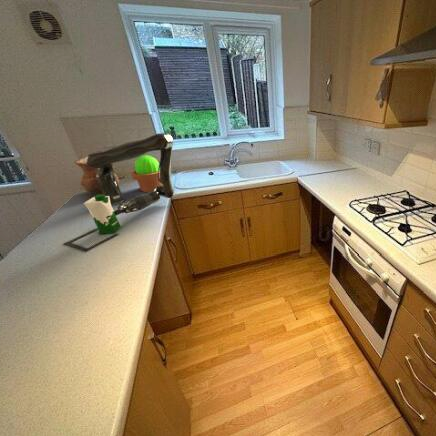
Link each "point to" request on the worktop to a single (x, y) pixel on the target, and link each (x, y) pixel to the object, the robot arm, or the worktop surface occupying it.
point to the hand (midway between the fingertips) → (113, 214)
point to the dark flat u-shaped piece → (89, 247)
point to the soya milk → (103, 214)
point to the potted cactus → (146, 173)
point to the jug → (91, 178)
